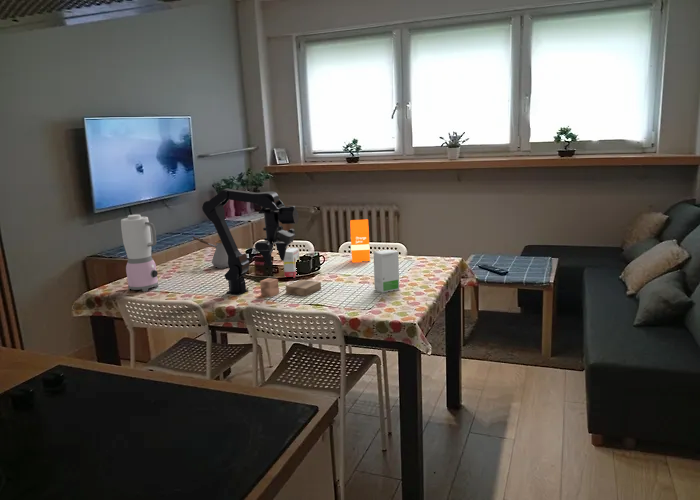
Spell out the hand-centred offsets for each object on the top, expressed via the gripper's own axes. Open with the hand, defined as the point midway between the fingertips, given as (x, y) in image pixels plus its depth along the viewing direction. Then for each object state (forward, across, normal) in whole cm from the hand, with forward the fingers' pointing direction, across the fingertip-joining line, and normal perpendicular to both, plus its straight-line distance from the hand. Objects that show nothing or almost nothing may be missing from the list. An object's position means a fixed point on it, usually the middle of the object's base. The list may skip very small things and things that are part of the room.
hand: (276, 263), depth 221 cm
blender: (+11, -10, +62) cm, 63 cm away
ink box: (+13, +26, +10) cm, 30 cm away
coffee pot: (+12, +31, +57) cm, 66 cm away
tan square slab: (+13, +6, -8) cm, 16 cm away
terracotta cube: (+13, -2, +3) cm, 13 cm away
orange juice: (+13, +60, -9) cm, 62 cm away
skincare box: (+14, +17, -40) cm, 45 cm away
